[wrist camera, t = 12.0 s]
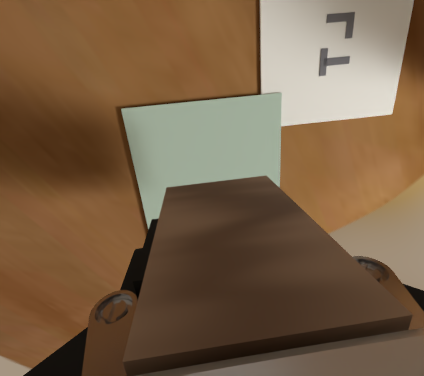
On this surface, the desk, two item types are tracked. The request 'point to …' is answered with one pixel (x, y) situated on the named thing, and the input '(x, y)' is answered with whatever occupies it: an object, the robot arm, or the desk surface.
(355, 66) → the white mat
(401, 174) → the desk surface
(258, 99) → the green mat
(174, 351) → the walnut block
